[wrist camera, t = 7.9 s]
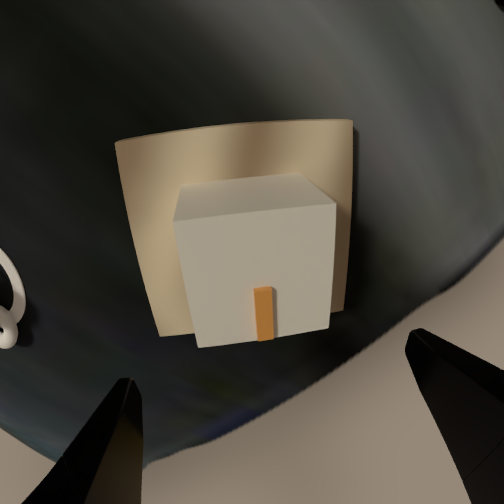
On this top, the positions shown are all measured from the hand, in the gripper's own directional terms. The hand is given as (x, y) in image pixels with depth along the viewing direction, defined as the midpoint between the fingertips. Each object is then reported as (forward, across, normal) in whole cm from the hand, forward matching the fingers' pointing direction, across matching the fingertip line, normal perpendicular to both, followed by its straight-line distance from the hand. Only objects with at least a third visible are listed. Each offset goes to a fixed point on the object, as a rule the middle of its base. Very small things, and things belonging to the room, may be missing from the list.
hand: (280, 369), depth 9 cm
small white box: (+9, 0, 0) cm, 9 cm away
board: (+10, 0, 0) cm, 10 cm away
